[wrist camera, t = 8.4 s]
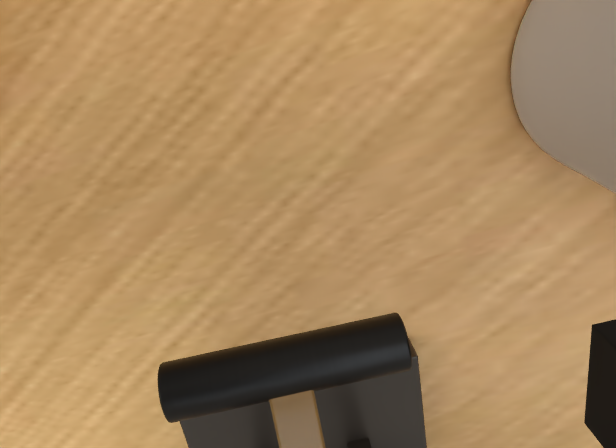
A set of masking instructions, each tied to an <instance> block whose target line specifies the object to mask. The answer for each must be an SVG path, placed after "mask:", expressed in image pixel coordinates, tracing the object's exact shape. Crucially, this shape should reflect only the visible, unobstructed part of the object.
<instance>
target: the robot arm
mask: <svg viewBox="0 0 616 448" xmlns="http://www.w3.org/2000/svg"><path fill="white" fill-rule="evenodd" d="M584 423H585V424H586V425H587V427H588V428H589V429H590V431H591V432H592V433H593V434H594V436H595V437H596V438H597V440H598V441H599V442H600V443H601V445H602V446H603V447H604V448H616V320H611V321H607V322H603V323H598V324H594V325H592V332H591V345H590V358H589V371H588V384H587V397H586V409H585V422H584Z"/></svg>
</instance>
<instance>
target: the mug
mask: <svg viewBox="0 0 616 448" xmlns="http://www.w3.org/2000/svg"><path fill="white" fill-rule="evenodd" d="M511 89H512V95H513V101H514V104H515V107H516V111H517V114H518V116H519V118H520V120H521V122H522V124H523V127H524V128H525V130H526V131H527V132H528V134H529V135H530V137H531V138H532V140H533V141H534V142H535V143H536V144H537V145H538V146H539V147H540V148H541V149H542V150H543V151H545V152H546V153H547V154H549V155H550V156H551V157H553V158H554V159H555V160H557V161H558V162H560V163H562V164H563V165H565V166H567V167H569V168H571V169H573V170H574V171H576V172H578V173H580V174H582V175H584V176H586V177H587V178H589V179H591V180H593V181H595V182H596V183H598V184H600V185H602V186H603V187H605V188H607V189H608V190H610V191H612V192H613V193H615V194H616V0H532V1H531V3H530V4H529V6H528V8H527V11H526V13H525V15H524V17H523V19H522V22H521V24H520V27H519V30H518V33H517V36H516V40H515V44H514V49H513V54H512V63H511Z"/></svg>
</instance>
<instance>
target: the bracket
mask: <svg viewBox="0 0 616 448" xmlns="http://www.w3.org/2000/svg"><path fill="white" fill-rule="evenodd" d="M408 340H409V338H408ZM409 344H410V349H411V355H412V368H411V369H410V370H409V371H404V372H400V373H395V374H391V375H386V376H382V377H377V378H373V379H368V380H363V381H359V382H354V383H350V384H345V385H341V386H336V387H332V388H327V389H323V390H318V391H314V394H315V399H316V404H317V409H318V413H319V418H320V423H321V428H322V433H323V438H324V443H325V448H427V445H426V435H425V425H424V415H423V405H422V395H421V384H420V374H419V364H418V356H417V354H416V352H415V350H414V348H413V346H412V344H411V342H410V340H409ZM180 424H181V427H182V429H183V432H184V435H185V438H186V441H187V444H188V447H189V448H279V444H278V439H277V435H276V430H275V425H274V421H273V416H272V412H271V407H270V402H269V401H268V402H264V403H259V404H255V405H250V406H245V407H241V408H236V409H232V410H227V411H223V412H218V413H214V414H209V415H205V416H200V417H195V418H191V419H186V420H182V421H180Z"/></svg>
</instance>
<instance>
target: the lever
mask: <svg viewBox="0 0 616 448" xmlns="http://www.w3.org/2000/svg"><path fill="white" fill-rule="evenodd" d="M411 368H412V355H411V349H410V344H409V340H408V336H407V332H406V329H405V326H404V324H403V321H402V319H401V317H400V316H399V314H398V313H392V314H387V315H382V316H378V317H373V318H368V319H364V320H359V321H355V322H350V323H345V324H341V325H336V326H331V327H327V328H322V329H317V330H313V331H308V332H303V333H299V334H294V335H289V336H285V337H280V338H275V339H271V340H266V341H261V342H257V343H252V344H247V345H243V346H238V347H233V348H229V349H224V350H219V351H215V352H210V353H205V354H201V355H196V356H192V357H187V358H182V359H178V360H173V361H168V362H164V363H162V364H160V366H159V370H158V392H159V398H160V403H161V407H162V410H163V413H164V415H165V417H166V419H167V421H168V422H171V423H173V422H177V421H182V420H186V419H191V418H195V417H200V416H205V415H209V414H214V413H218V412H223V411H227V410H232V409H236V408H241V407H245V406H250V405H255V404H259V403H264V402H268V401H269V402H270V407H271V412H272V416H273V421H274V425H275V430H276V435H277V439H278V444H279V448H325V443H324V438H323V433H322V428H321V423H320V418H319V413H318V409H317V404H316V399H315V394H314V391H318V390H323V389H327V388H332V387H336V386H341V385H345V384H350V383H354V382H359V381H363V380H368V379H373V378H377V377H382V376H386V375H391V374H395V373H400V372H404V371H409V370H410V369H411Z"/></svg>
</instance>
